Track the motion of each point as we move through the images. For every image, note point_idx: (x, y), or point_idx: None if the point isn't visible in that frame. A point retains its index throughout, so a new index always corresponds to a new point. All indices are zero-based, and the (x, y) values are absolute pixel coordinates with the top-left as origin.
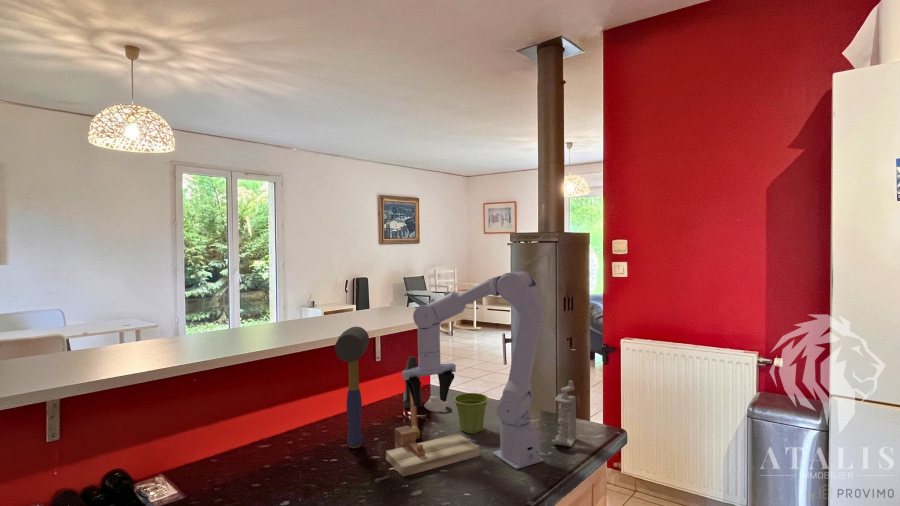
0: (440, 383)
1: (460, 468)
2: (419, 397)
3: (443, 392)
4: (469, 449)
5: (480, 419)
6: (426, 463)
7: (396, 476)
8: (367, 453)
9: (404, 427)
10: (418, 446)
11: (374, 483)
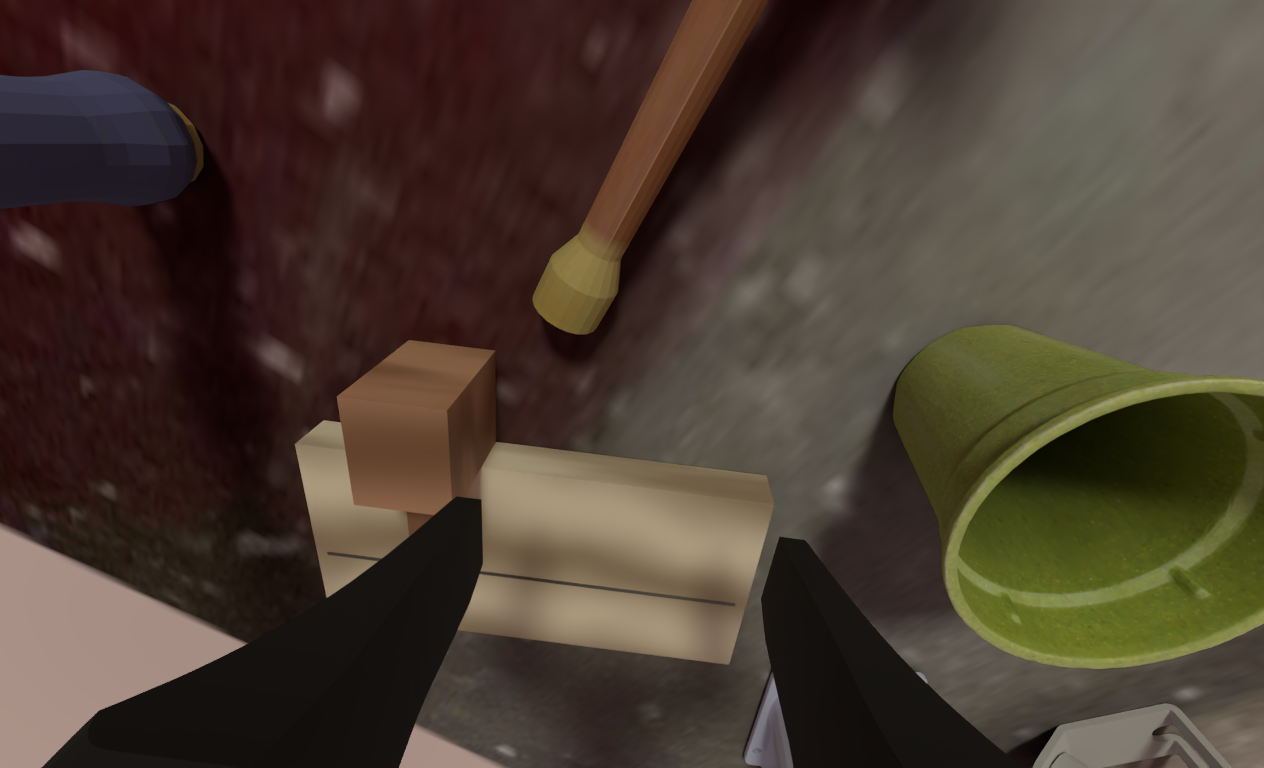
0: (847, 716)
1: (586, 652)
2: (435, 666)
3: (787, 677)
4: (677, 654)
5: (1005, 522)
6: None
7: None
8: (239, 292)
9: (409, 423)
10: None
11: (231, 560)
